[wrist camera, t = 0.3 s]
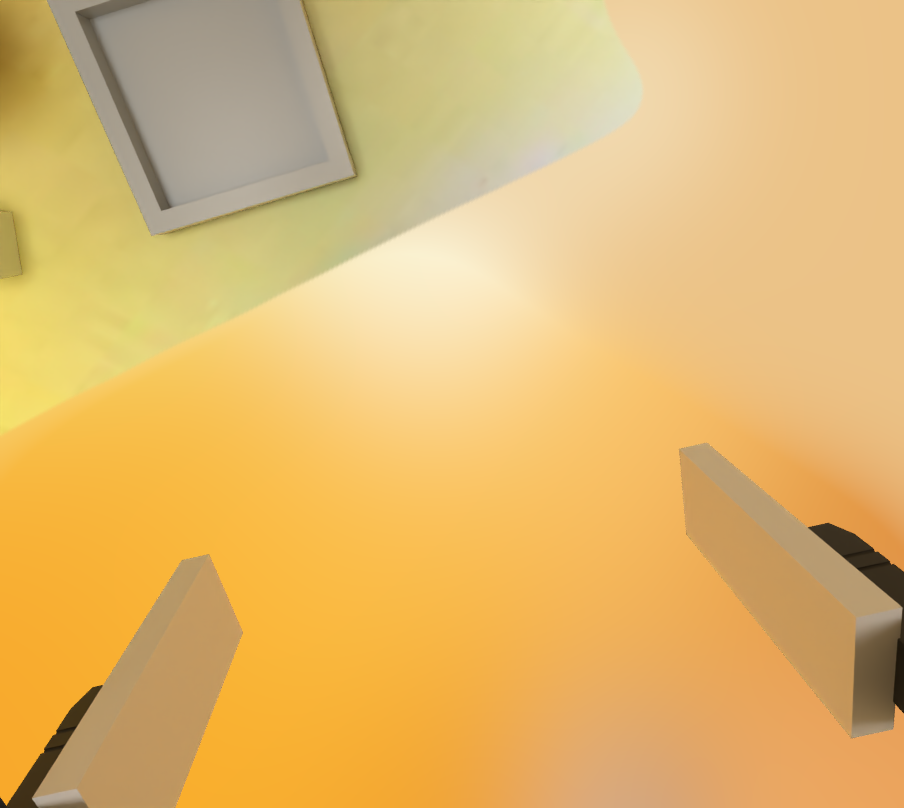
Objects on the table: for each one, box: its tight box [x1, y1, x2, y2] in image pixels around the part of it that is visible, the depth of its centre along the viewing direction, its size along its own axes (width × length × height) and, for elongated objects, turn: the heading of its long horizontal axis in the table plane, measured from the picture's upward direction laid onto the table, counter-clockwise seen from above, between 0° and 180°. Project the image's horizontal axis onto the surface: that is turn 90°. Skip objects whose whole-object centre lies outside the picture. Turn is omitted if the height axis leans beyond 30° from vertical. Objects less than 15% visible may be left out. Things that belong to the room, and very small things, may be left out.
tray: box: [47, 0, 357, 236], centre depth 35 cm, size 13×13×2 cm
